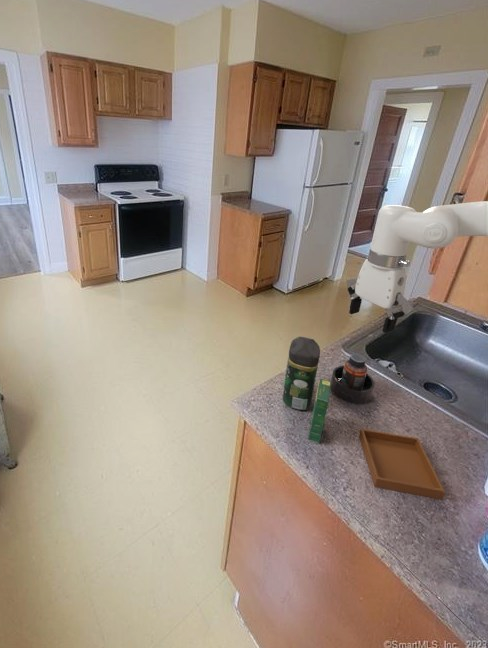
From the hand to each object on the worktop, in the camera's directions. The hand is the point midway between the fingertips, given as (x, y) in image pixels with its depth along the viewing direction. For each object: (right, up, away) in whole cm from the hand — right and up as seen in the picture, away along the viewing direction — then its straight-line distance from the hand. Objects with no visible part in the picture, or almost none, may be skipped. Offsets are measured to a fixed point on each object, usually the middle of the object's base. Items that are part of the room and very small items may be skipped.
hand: (369, 321), depth 82 cm
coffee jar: (-16, -24, +9) cm, 30 cm away
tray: (+1, -31, -9) cm, 33 cm away
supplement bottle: (+1, -23, +13) cm, 26 cm away
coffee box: (-14, -28, 0) cm, 31 cm away
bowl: (+1, -23, +13) cm, 26 cm away
